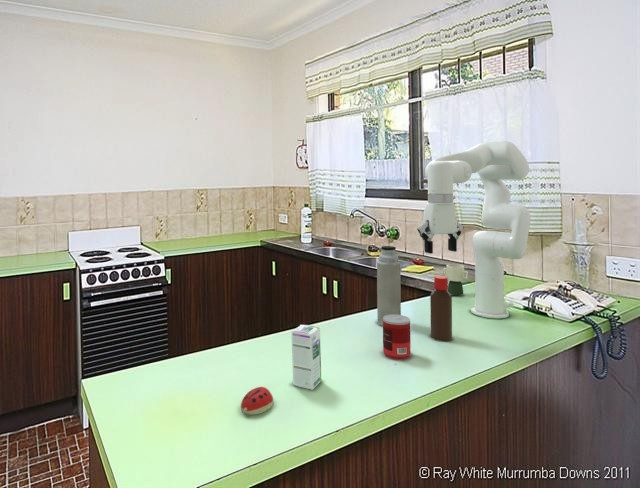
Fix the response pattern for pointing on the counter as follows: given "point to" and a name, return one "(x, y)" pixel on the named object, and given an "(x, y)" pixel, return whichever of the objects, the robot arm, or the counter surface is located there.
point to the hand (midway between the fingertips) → (440, 251)
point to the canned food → (396, 336)
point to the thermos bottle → (388, 284)
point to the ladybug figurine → (257, 401)
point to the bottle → (441, 315)
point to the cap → (440, 283)
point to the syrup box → (306, 356)
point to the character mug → (455, 278)
